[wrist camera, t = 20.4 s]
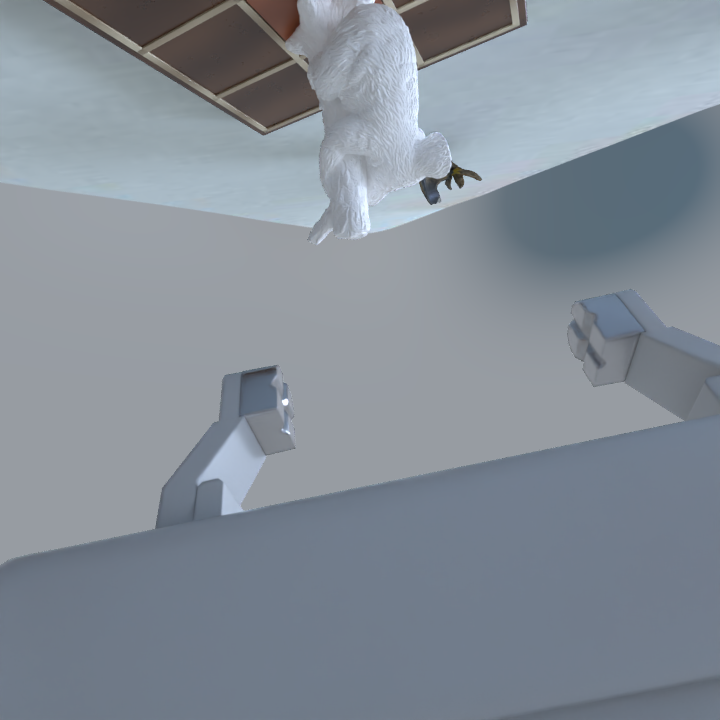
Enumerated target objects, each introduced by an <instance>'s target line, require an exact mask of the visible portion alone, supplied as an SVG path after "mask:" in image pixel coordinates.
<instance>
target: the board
mask: <svg viewBox="0 0 720 720" xmlns="http://www.w3.org/2000/svg"><path fill="white" fill-rule="evenodd" d="M43 1H45V2H46V3H48V4H50V5H51V6H53V7H55V8H56V9H58V10H59V11H61V12H63V13H64V14H66V15H68V16H69V17H71V18H72V19H74V20H76V21H77V22H79V23H81V24H82V25H84V26H86V27H87V28H89V29H90V30H92V31H94V32H95V33H97V34H99V35H100V36H102V37H103V38H105V39H107V40H108V41H110V42H112V43H113V44H115V45H116V46H118V47H120V48H121V49H123V50H125V51H126V52H128V53H129V54H131V55H133V56H134V57H136V58H138V59H139V60H141V61H143V62H144V63H146V64H147V65H149V66H151V67H152V68H154V69H156V70H157V71H159V72H160V73H162V74H164V75H165V76H167V77H169V78H170V79H172V80H173V81H175V82H177V83H178V84H180V85H182V86H183V87H185V88H187V89H188V90H190V91H191V92H193V93H195V94H196V95H198V96H200V97H201V98H203V99H204V100H206V101H208V102H209V103H211V104H213V105H214V106H216V107H217V108H219V109H221V110H222V111H224V112H226V113H227V114H229V115H230V116H232V117H234V118H235V119H237V120H239V121H240V122H242V123H244V124H245V125H247V126H248V127H250V128H252V129H253V130H255V131H257V132H258V133H260V134H261V135H266V134H268V133H271V132H273V131H276V130H278V129H280V128H283V127H285V126H287V125H290V124H292V123H295V122H297V121H299V120H302V119H304V118H306V117H309V116H311V115H314V114H316V113H318V112H321V111H323V110H320V109H319V99H318V98H317V95H316V92H315V90H313V89H312V88H311V85H310V83H309V79H308V78H307V71H308V69H307V68H308V65H309V61H308V58H307V57H306V56H305V55H298V54H294V53H292V52H290V51H289V50H287V49H286V47H285V43H286V41H287V39H288V38H289V37H290V36H291V35H292V34H293V33H294V32H295V29H297V27H298V26H299V25H300V15H299V12H298V8H297V1H298V0H43ZM374 3H377V4H384V5H386V6H388V7H391V8H392V9H394V10H395V11H396V12H397V13H398V15H400V16H401V17H402V19H403V21H404V22H405V25H406V26H408V28H409V33H410V35H411V38H412V42H413V46H414V48H415V56H416V65H417V71H418V70H420V69H423V68H425V67H428V66H430V65H432V64H435V63H437V62H439V61H442V60H444V59H447V58H449V57H451V56H454V55H456V54H458V53H461V52H463V51H466V50H468V49H470V48H473V47H475V46H477V45H480V44H482V43H485V42H487V41H489V40H492V39H494V38H496V37H499V36H501V35H504V34H506V33H508V32H511V31H513V30H515V29H518V28H520V27H523V26H525V25H527V24H528V20H527V9H526V0H375V2H374Z"/></svg>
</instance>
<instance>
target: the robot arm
mask: <svg viewBox="0 0 720 720" xmlns="http://www.w3.org/2000/svg"><path fill="white" fill-rule="evenodd" d="M571 314H572V315H573V317H574V320H573V321H572V322H571V323H570V324H569V326H568V333H567V335H568V343H569V346H570V349H571V351H572V353H573V354H574V356H575V358H577V359H579V360H581V361H583V362H584V364H583V371H584V373H585V374H586V376H587V377H588V379H589V381H590V382H591V384H592V385H593V387H596V386H602V385H607V384H613V383H618V382H624V381H625V383H626V384H627V385H629V386H631V387H632V388H634V389H635V390H637V391H638V392H640V393H642V394H643V395H645V396H646V397H648V398H650V399H651V400H653V401H654V402H656V403H657V404H659V405H660V406H662V407H664V408H665V409H667V410H668V411H670V412H672V413H673V414H675V415H676V416H678V417H679V418H681V419H683V420H684V421H683V422H678V423H673V424H668V425H663V426H659V427H654V428H649V429H644V430H639V431H634V432H629V433H624V434H619V435H615V436H609V437H604V438H599V439H594V440H589V441H585V442H580V443H575V444H570V445H565V446H561V447H555V448H550V449H545V450H541V451H536V452H531V453H526V454H521V455H516V456H511V457H506V458H502V459H496V460H492V461H487V462H482V463H477V464H472V465H467V466H462V467H457V468H452V469H447V470H443V471H437V472H432V473H428V474H423V475H418V476H413V477H408V478H403V479H398V480H393V481H388V482H383V483H378V484H374V485H369V486H364V487H359V488H354V489H349V490H345V491H340V492H334V493H329V494H325V495H320V496H315V497H310V498H305V499H300V500H295V501H290V502H286V503H280V504H275V505H270V506H266V507H261V508H256V509H251V510H246V511H243V509H242V508H241V506H240V505H241V503H242V501H243V499H244V497H245V496H246V494H247V492H248V490H249V488H250V486H251V485H252V483H253V481H254V479H255V477H256V475H257V473H258V471H259V470H260V468H261V466H262V464H263V462H264V461H265V459H266V455H270V454H274V453H279V452H283V451H287V450H291V449H295V429H294V427H293V424H292V422H291V420H292V418H293V417H294V408H293V402H292V397H291V393H290V390H289V388H288V385H287V384H286V383H284V382H283V373H282V371H281V369H280V366H279V365H274V366H268V367H263V368H258V369H252V370H248V371H243V372H239V373H233V374H228V375H225V376H224V378H223V381H222V391H221V402H220V413H219V421H218V422H214V423H213V424H212V425H211V427H210V428H209V429H208V431H207V432H206V433H205V434H204V436H203V437H202V438H201V439H200V441H199V442H198V443H197V444H196V446H195V447H194V448H193V450H192V451H191V452H190V453H189V455H188V456H187V457H186V459H185V460H184V461H183V462H182V464H181V465H180V466H179V468H178V469H177V470H176V471H175V473H174V474H173V475H172V476H171V478H170V479H169V480H168V482H167V483H166V484H165V485H164V487H163V488H162V493H161V498H160V504H159V510H158V515H157V521H156V528H155V529H153V530H148V531H143V532H138V533H134V534H129V535H124V536H119V537H114V538H109V539H104V540H99V541H94V542H89V543H84V544H80V545H75V546H70V547H65V548H60V549H55V550H49V551H44V552H38V553H33V554H28V555H24V556H20V557H16V558H12V559H10V560H8V561H6V562H4V563H3V564H1V565H0V720H720V346H719V345H717V344H715V343H712V342H710V341H707V340H705V339H702V338H700V337H697V336H695V335H692V334H690V333H687V332H685V331H682V330H680V329H678V328H675V327H666V326H665V325H664V323H663V322H662V321H661V320H660V319H659V318H658V316H657V315H656V314H655V313H654V312H653V311H652V310H651V308H650V307H649V306H648V305H647V304H646V303H645V301H644V300H643V299H642V298H641V297H640V296H639V294H638V293H637V292H636V291H635V290H632V289H629V290H624V291H620V292H616V293H612V294H607V295H603V296H598V297H593V298H589V299H584V300H580V301H575V302H574V304H573V305H572V309H571Z"/></svg>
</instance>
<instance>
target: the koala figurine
mask: <svg viewBox="0 0 720 720" xmlns="http://www.w3.org/2000/svg"><path fill="white" fill-rule="evenodd" d="M374 2H375V0H298V1H297V8H298V12H299V15H300V25H299V26H298V27H297V29H295V32H294V33H293V34H292V35H291V36H290V37H289V38H288V39H287V41H286V43H285V47H286V49H287V50H289V51H290V52H292V53H294V54H298V55H305V56H306V57H307V58H308V61H309V65H308V68H307V69H308V71H307V78H308V79H309V83H310V85H311V88H312V89H313V90H315V92H316V95H317V98H318V99H319V109H320V110H323V112H322V116H323V123H324V130H325V136H324V137H325V138H324V140H323V141H322V144H321V148H320V155H319V169H320V179H321V182H322V186H323V188H324V191H325V193H326V194H327V197H329V198H330V205H329V207H328V208H327V209H326V210H325V212H324V213H323V215H322V217H321V219H320V220H319V221H318V222H316V223H315V225H314V227H313V229H312V231H311V232H310V235H309V238H308V239H307V240H308V242H311V243H312V244H315V245H318V244H319V243H320V242H321V241H322V240H323V239H324V238H325V237H326V236H327V235H328V233H329V232H330V231H332V230H333V231H334V236H336V238H337V239H343V238H346V239H350V240H357V239H360V238H362V237H364V236H366V235H367V233H368V232H369V231H370V221H369V216H368V206H375V205H377V204H378V203H379V202H380V201H381V200H383V199H384V197H385V196H386V195H387V194H388V193H391V192H392V191H396V190H399V189H401V188H405V187H411V186H413V185H415V184H417V183H418V182H420V181H421V180H423V179H424V178H425V177H432V178H435V179H440V178H443V177H445V176H446V175H447V174H448V173H449V172H450V168H451V165H452V163H451V159H452V158H451V156H450V155H451V153H450V150H449V146H448V144H447V141H446V139H445V137H444V136H443V135H442V134H441V133H439V132H433V133H431V134H429V135H428V136H427V137H425V134H424V131H422V130H421V129H420V128H419V127H418V123H417V120H418V115H417V114H418V109H419V101H418V95H419V91H418V82H417V81H418V79H417V78H418V75H417V72H418V71H417V65H416V56H415V48H414V46H413V42H412V38H411V35H410V33H409V28H408V26H406V25H405V22H404V21H403V19H402V17H401V16H400V15H398V13H397V12H396V11H395V10H394V9H392V8H391V7H388V6H386V5H384V4H377V3H374Z"/></svg>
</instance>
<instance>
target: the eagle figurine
mask: <svg viewBox="0 0 720 720" xmlns="http://www.w3.org/2000/svg"><path fill="white" fill-rule="evenodd" d="M451 163H452V165H451V168H450V172H449V173H448V174H447V175H446V176H445V177H443V178H440V179H435V178H432V177H425V178H424V179H423V180H421V181H420V182H419V184H420V187H421V190H422V192H423V194H424V196H425V197H426V199H427V201H428V202H429V203H430V204H431V205H432V204H436V203H437V202H439V203H440V202H441V198H440V195H439V192H438V191H437V185H438V184H439V183H440V182H441V181H444V180H446V182H445V185H446V186H447V188H448V189H450V190H452V188H451V179H452V176H453V177H454V180H455V182H456V183H457V185H458V186H459V188H460V189H461V188H462V187H463V185H464V179H463V175H465V176H469V177H473V178H475V179H476V180H479V181H481V180H482V179H481V177H480V176H479V175H478V174H477V173H475V172H473V171H470V170H464V169H462V168H460V167H458V166H457V165H456V164H454V163H453V162H452V161H451Z"/></svg>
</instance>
